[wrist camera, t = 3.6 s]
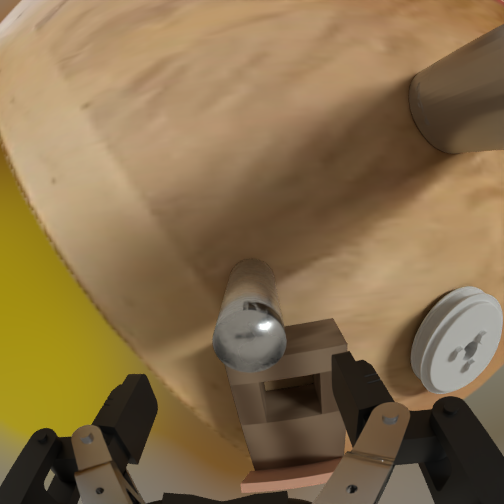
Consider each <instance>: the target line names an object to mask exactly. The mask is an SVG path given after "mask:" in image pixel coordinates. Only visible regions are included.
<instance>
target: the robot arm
mask: <svg viewBox="0 0 504 504" xmlns="http://www.w3.org/2000/svg"><path fill="white" fill-rule="evenodd" d="M409 104H410V109H411V113H412V116H413V119H414V121H415V123H416V125H417V127H418V128H419V130H420V131H421V133H422V135H423V136H424V137H425V138H426V139H427V140H428V141H429V143H431V144H432V145H433V146H434V147H436V148H437V149H439V150H441V151H443V152H446V153H450V154H457V153H467V152H479V151H492V150H504V24H503V25H501V26H499V27H497V28H495V29H493V30H491V31H489V32H488V33H486V34H484V35H482V36H480V37H479V38H477V39H475V40H473V41H471V42H470V43H468V44H466V45H464V46H463V47H461V48H459V49H457V50H456V51H454V52H452V53H451V54H449V55H447V56H446V57H444V58H442V59H441V60H439V61H437V62H435V63H434V64H432V65H431V66H429V67H427V68H426V69H424V70H422V71H421V72H419V73H418V74H417V75H416V76H415V77H414V79H413V80H412V82H411V85H410V89H409ZM331 366H332V390H333V395H334V398H335V400H336V403H337V406H338V408H339V411H340V414H341V417H342V419H343V422H344V425H345V428H346V430H347V433H348V436H349V439H350V441H351V444H352V447H353V449H352V450H351V452H349V451H348V452H346V453H345V455H344V456H343V458H342V459H341V461H340V462H339V464H338V466H337V467H336V469H335V470H334V472H333V474H332V475H331V477H330V478H329V480H328V481H327V483H326V484H325V486H324V487H323V489H322V490H321V491H320V493H319V494H318V496H317V497H316V499H315V500H314V501H313V503H312V502H309V501H305V500H300V499H292V498H288V494H287V491H282V492H273V493H263V494H254V495H250V496H246V497H242V498H237V499H233V500H228V501H216V500H212V499H208V498H203V497H199V496H195V495H187V494H174V493H164V494H163V499H162V500H159V501H154V502H150V503H147V504H378V502H379V500H380V498H381V496H382V494H383V492H384V490H385V487H386V485H387V483H388V481H389V479H390V476H391V474H392V472H393V469H394V467H395V465H402V464H413V463H418V464H419V467H420V469H421V471H422V473H423V476H424V478H425V481H426V483H427V485H428V488H429V490H430V493H431V495H432V498H433V500H434V503H435V504H504V456H503V455H502V453H501V452H500V450H499V449H498V447H497V446H496V444H495V443H494V442H493V440H492V439H491V437H490V436H489V434H488V433H487V431H486V430H485V429H484V427H483V426H482V424H481V423H480V421H479V420H478V419H477V417H476V416H475V415H474V413H473V412H472V411H471V409H470V408H469V406H468V405H467V404H466V403H465V402H464V401H463V400H462V399H460V398H458V397H453V396H448V397H443V398H441V399H439V400H437V401H436V402H435V404H434V405H433V408H432V409H430V410H421V411H409V410H408V408H407V407H406V406H404V405H403V404H400V403H396V402H394V400H393V398H392V397H391V395H390V394H389V392H388V390H387V389H386V387H385V385H384V384H383V382H382V381H381V380H380V377H379V376H378V374H377V373H376V371H375V369H374V368H373V366H372V365H371V364H369V363H367V362H366V361H364V360H360V361H355V360H354V358H353V356H352V354H351V353H350V351H347V352H343V353H338V354H333V355H332V357H331ZM157 410H158V405H157V400H156V398H155V395H154V393H153V390H152V388H151V385H150V383H149V380H148V378H147V376H146V375H145V374H129V375H128V376H127V377H126V379H125V381H124V382H123V384H122V385H119V386H117V387H116V388H115V389H114V390H113V391H111V393H110V395H109V396H108V399H107V400H106V401H105V403H104V406H102V408H101V409H100V411H99V413H98V415H97V416H96V418H95V419H94V421H93V423H92V425H85V426H82V427H80V428H78V429H77V430H76V431H75V432H74V433H73V434H72V437H58V436H57V435H56V433H55V432H54V431H53V430H52V429H49V428H43V429H40V430H38V431H36V432H35V433H34V434H33V435H32V436H31V438H30V439H29V441H28V443H27V444H26V445H25V447H24V449H23V450H22V452H21V453H20V455H19V456H18V458H17V460H16V461H15V463H14V464H13V466H12V468H11V469H10V471H9V473H8V474H7V476H6V478H5V480H4V481H3V483H2V485H1V486H0V504H77V503H78V501H79V498H80V496H81V499H82V503H83V504H146V503H145V501H144V500H143V498H142V496H141V494H140V493H139V491H138V489H137V487H136V485H135V483H134V481H133V480H132V478H131V476H130V474H129V472H128V470H127V469H126V466H127V464H128V463H130V464H138V463H139V460H140V458H141V455H142V452H143V449H144V447H145V444H146V441H147V438H148V436H149V433H150V430H151V428H152V425H153V422H154V420H155V417H156V414H157ZM50 469H51V470H52V471H53V473H54V474H55V476H54V478H53V480H52V482H51V484H50V486H49V488H48V490H47V491H46V490H45V488H44V480H45V478H46V476H47V474H48V472H49V471H50Z"/></svg>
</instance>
